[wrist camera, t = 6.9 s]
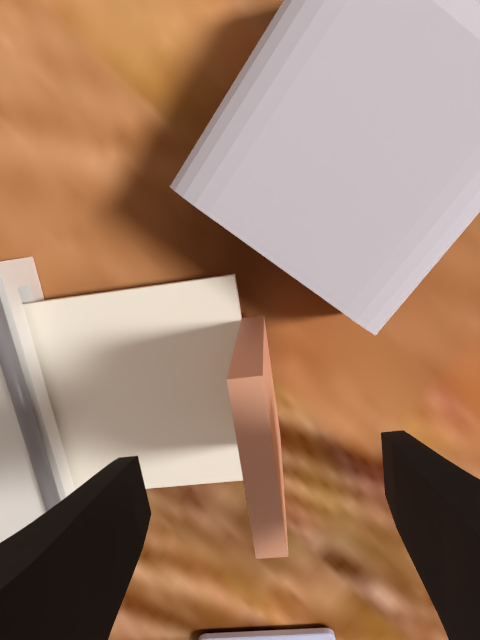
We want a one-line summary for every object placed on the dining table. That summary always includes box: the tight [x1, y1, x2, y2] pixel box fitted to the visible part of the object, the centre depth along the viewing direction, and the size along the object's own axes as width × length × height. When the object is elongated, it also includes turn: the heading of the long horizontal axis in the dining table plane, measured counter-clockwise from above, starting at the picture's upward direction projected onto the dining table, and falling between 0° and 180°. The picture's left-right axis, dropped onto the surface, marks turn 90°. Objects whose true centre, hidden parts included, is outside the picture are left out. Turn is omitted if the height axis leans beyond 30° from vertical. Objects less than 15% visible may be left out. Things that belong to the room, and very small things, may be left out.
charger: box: [170, 0, 480, 335], centre depth 14 cm, size 5×9×15 cm
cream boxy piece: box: [22, 274, 288, 559], centre depth 15 cm, size 12×10×7 cm
